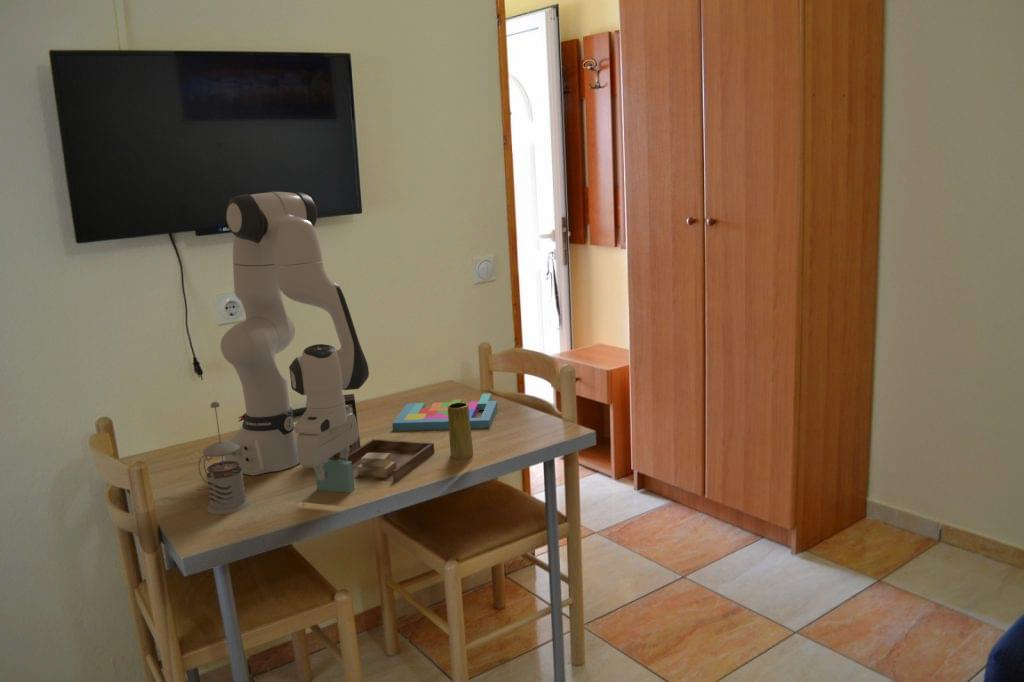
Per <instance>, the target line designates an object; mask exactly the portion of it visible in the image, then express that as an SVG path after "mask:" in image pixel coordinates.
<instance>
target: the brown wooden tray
mask: <svg viewBox="0 0 1024 682" xmlns="http://www.w3.org/2000/svg"><path fill="white" fill-rule="evenodd" d="M360 446H361V447H360V448H358V449H356V450H355V451H353V452H352V453H350V454H349V455H348V461H352V469H353V479H359V480H369V481H381V482H391V483H396V482H397V481H399V480H400V479H402V478H403V477H404V476H406V475H407V474H408V473H409V472H411V471H412V470H414V469H415V468H416V467H417V466H418V465H420V464H421V463H423V462H424V461H425V460H427V459H428V458H429V457H430V456H432V455H433V454H434V453H435V443H434V442H424V441H410V440H409V441H408V440H407V441H406V440H394V439H393V440H392V439H378V438H372V439H371V440H369V441H367V442H366V443H364V444H363V445H360ZM367 453H390V455H391V462H396V467H397V468H396V469H395V470H393V473H392V474H391V475H390V476H388V477H387V478H385V477H373V476H362V475H358V470H357V466H359V465H360V464H362V462H361V458H362V457H363V456H364V455H365V454H367Z"/></svg>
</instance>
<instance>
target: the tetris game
mask: <svg viewBox="0 0 1024 682" xmlns="http://www.w3.org/2000/svg"><path fill="white" fill-rule="evenodd" d="M492 399H493V398H492V393H491V392H490V393H482V394H481V396H480V399H479V400H477V401H475V400H474V401H469V402H468V403H467V404H468V407H469V419H470V428H471V429H484V428H483V427H490V428H491V426H492V423H491V422H493V421H492V419H493V420H494V418H493V417H495V416H494V414H495V415H496V413H497V411H496V409H497V410H498V408H497V407H498V400H492ZM491 400H492V401H491ZM457 402H463V399H461V398H460V399H452V401H447V402H444V401H443V402H433V403H432V405H431V406H430V407H426V403H425V402H418V403H417V402H414V403H413V402H410V403H406V404H405V406H404V407H403V408H402V410H400V412H399V413H398V415H397V416H396V417H395V419H394V420H393V421H392V423H391V424H392V425H391V426H392V431H393V432H394V431H395V432H396V431H398V432H399V431H400V430H401V431H402V430H403V431H427V430H428V431H431V430H432V431H434V430H449V420H448V405H449V404H452V403H457ZM478 410H484V411H482V414H481V416H480V417H477V415H478V413H479V411H478ZM477 412H478V413H477ZM495 412H496V413H495ZM476 414H477V415H476ZM475 416H476V417H475ZM490 425H491V426H490Z"/></svg>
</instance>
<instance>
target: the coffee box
mask: <svg viewBox="0 0 1024 682" xmlns="http://www.w3.org/2000/svg"><path fill="white" fill-rule="evenodd" d="M343 396H344V399H345V405H348V406H350V407H351V408H352V410H353V414H354V415H355V418H356V421H357V426H358V427H359V423H358V413H357V405H356V397H355V394H354V393H350V394H343ZM359 431H360V429H358V432H359ZM359 433H360V432H359ZM360 438H361V437H360V436H359V437H358V440H357V441H356V442H355V443H353V444H351V445H350V446H349V447H350V451H349V454H350V453H352V452H353V451H355V450H356V449H358V448H360V447H361V446H362V445H361V439H360ZM339 458H340V452H338V453H337V454H335V455H334V456H332V457H330V458H329V459H328V460H335V459H339Z"/></svg>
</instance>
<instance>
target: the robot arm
mask: <svg viewBox="0 0 1024 682" xmlns="http://www.w3.org/2000/svg"><path fill="white" fill-rule="evenodd" d="M317 220H318V211H317V206H316V204H315V201H314V200H313V199H312V197H311V195H310V196H309V195H308V194H306V193H303V192H298V191H292V192H285V191H268V192H259V193H253V194H248V193H245V194H241V195H236V196H234V197H233V198H231V199H230V200H229V202H228V204H227V206H226V208H225V221H226V224H227V227H228V230H229V231H230V233H232V235H233V236H234V237H233V244H232V245H233V246H232V267H233V268H232V269H233V289H234V295H235V296H236V297H237V299H238V300H240V302H241V304H242V307H243V310H244V313H245V320H243V321H240V322H239V323H236V324H234V325H233V326H231V327H230V328H229V330H227V331H226V332H225V333H224V335H222V337H221V339H220V351H221V354H222V356H223V358H224V359H225V360H226V361H227V362H228V363H230V365H232V366H233V368H234V369H235V372H236V373H237V375H238V378H239V380H240V383H241V387H242V392H243V399H244V400H243V401H244V405H245V407H244V408H245V411H246V412H245V413H244V414H243V415H240V416H238V418H237V419H239V420H238V422H241V421H242V424H241V425H242V427H241V428H240V429H239V430H237V431H236V432H235V433H234V434H233V435H232V436H231V437H230V438H229V439H228V440H226V442H233V443H235V444H237V445H239V446H240V448H239V450H238V451H237V452H235V453H233V454H230V455H226V456H223V462H224V461H237V462H239V463H240V465H239V467H240V468H241V469H242V473H243V475H249V476H258V475H262V474H265V473H271V472H272V473H273V472H277V471H279V472H280V471H282V470H287V469H289V468H292V467H295V466H297V465H300V466H302V467H303V468H312V469H313V470H314V473H315V472H316V473H317V479H318V480H324V479H326V478H327V471H324V469H323V467H322V466H324V464H323V462H324V461H326V460H330V459H329V458H330V457H332V456H334V455H335V454H337V453H338V452H340V458H337V460H339V461H348V455H349V451H350V447H349V446H350V445H351V444H353V443H355V442H356V441H357V440H358V437H359V438H360V432H358V430H359V425H358V426H357V421H358V420H357V421H356V418H355V415H354V414H353V410H352V408H351V407H350V406H348V405H345V399H344V396H343V395H344V393H343V391H350V390H351V391H352V390H359V389H360V388H362V386H363V385H364V384H365V383H366V382H367V380H368V379H369V376H370V371H369V364H368V361H367V359H366V356H365V354H364V352H363V349H362V347H361V344H360V341H359V340H360V339H359V337H358V334H357V330H356V328H355V325H354V322H353V318H352V315H351V312H350V310H349V309H350V308H349V307H348V304H347V301H346V297H345V295H344V293H343V291H342V289H341V286H340V285H339V284H338V283H336V282H333V281H332V280H331V279H330V278H329V276H328V275H327V273H326V271H325V267H324V263H323V257H322V252H321V251H322V250H321V247H320V243H319V240H318V237H317V232H316V229H315V226H316V223H317ZM281 293H282V294H283V295H284V296H286V297H287V298H288V299H290V300H293V302H294V301H295V302H297V303H300V304H304V305H309V306H313V307H317V308H320V309H322V310H324V311H326V312H327V313H328V314H329V315H330V317H331V319H332V322H333V326H334V328H335V329H334V330H335V332H336V335H337V338H338V340H339V343H340V348H339V349H336V348H335V347H334V346H332V345H330V344H323V343H321V344H320V343H319V344H318V343H317V344H313V345H310V346H308V347H305V348H304V349H303V351H302V355H300V356H296V358H295V359H294V360H293V361H292V362H291V363H290V365H289V366H288V369H289V375H290V376H289V378H290V387H291V389H292V391H294V392H296V393H297V394H299V395H302V396H306V402H305V408H306V410H305V411H304V412H303V414H302V416H301V417H299V419H298V420H297V422H295V419H294V413H293V408H292V407H291V401H290V395H289V387H288V380H287V378H286V377H285V376H284V375H283V374H282V373H281V372H280V370H279V368H278V366H277V363H276V359H275V356H276V355H277V354H279V353H281V352H283V351H284V350H286V349H287V347H288V346H289V345H290V344H291V343H292V341H293V340H294V338H295V335H296V326H295V324H294V322H293V321H292V319H291V317H290V316H289V315H287V312H286V308H285V304H284V302H283V297H282V294H281ZM294 423H295V424H294ZM296 434H298V435H297V436H296ZM218 462H222V458H220V459H219V460H218V461H217V462H216V463H218ZM231 472H233V473H238V472H237V471H233V470H232V471H231Z"/></svg>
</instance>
